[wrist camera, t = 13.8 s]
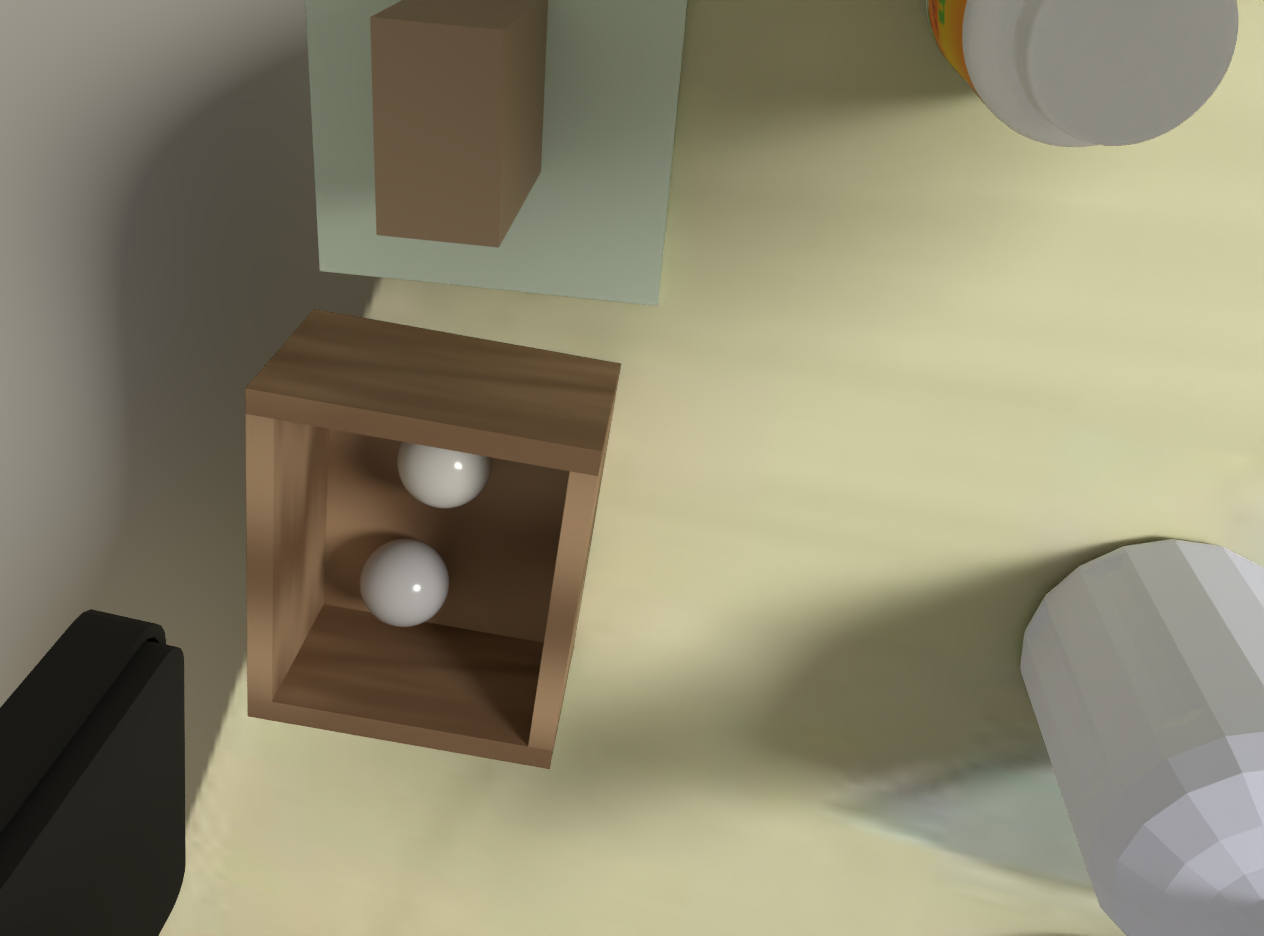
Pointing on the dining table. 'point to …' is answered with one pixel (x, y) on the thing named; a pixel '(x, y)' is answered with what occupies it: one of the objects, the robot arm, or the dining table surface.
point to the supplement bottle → (1088, 63)
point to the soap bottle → (1159, 731)
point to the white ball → (442, 474)
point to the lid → (496, 141)
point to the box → (420, 533)
